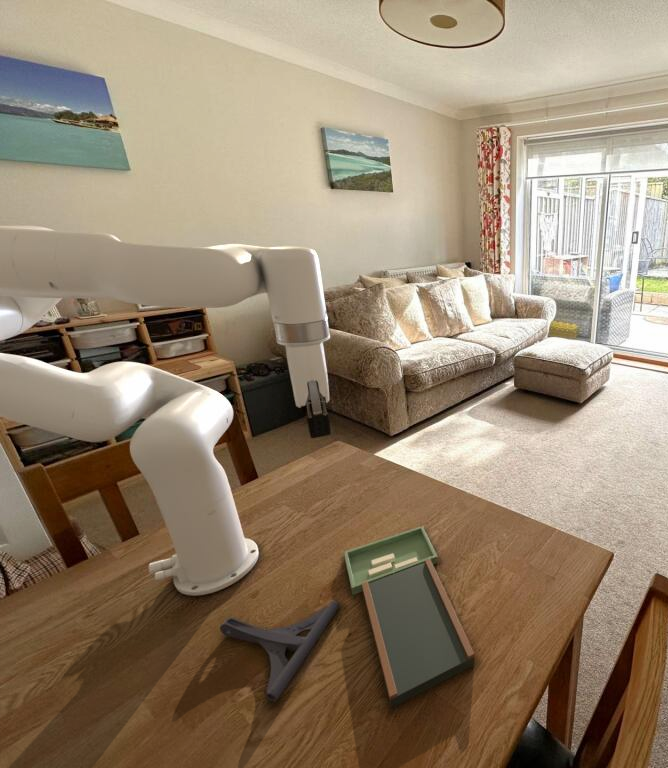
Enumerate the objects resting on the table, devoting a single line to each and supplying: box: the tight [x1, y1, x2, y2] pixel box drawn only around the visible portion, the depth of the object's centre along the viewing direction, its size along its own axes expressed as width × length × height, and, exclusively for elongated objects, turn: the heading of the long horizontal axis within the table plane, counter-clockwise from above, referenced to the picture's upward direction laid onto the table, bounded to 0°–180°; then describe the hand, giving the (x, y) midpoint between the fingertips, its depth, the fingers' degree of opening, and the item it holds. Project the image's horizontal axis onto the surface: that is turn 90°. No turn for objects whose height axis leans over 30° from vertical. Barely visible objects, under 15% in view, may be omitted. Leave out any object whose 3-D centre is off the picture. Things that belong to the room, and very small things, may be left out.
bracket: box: [219, 600, 341, 703], centre depth 60 cm, size 14×15×3 cm
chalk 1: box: [371, 554, 395, 568], centre depth 75 cm, size 4×1×1 cm, turn 118°
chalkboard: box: [362, 558, 475, 709], centre depth 63 cm, size 12×20×2 cm, turn 29°
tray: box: [343, 525, 439, 596], centre depth 76 cm, size 15×9×2 cm, turn 119°
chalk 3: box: [394, 557, 417, 569], centre depth 74 cm, size 4×1×1 cm
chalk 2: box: [368, 563, 392, 579], centre depth 73 cm, size 4×1×1 cm, turn 119°
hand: (320, 434), depth 69 cm, fingers closed
